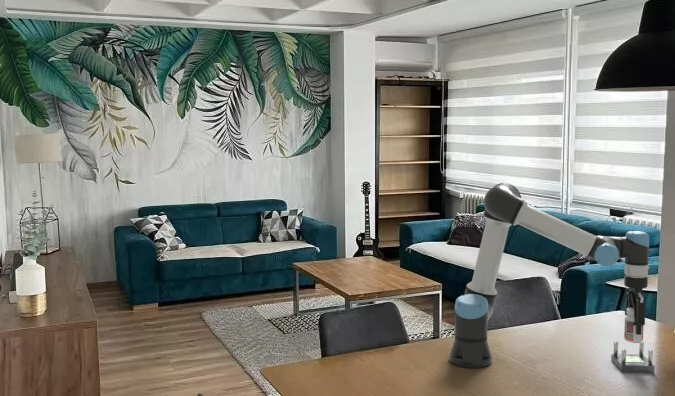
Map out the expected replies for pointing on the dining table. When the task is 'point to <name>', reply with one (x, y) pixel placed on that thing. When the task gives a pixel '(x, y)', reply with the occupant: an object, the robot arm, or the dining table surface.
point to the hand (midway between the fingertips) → (633, 339)
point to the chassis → (633, 360)
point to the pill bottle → (630, 325)
